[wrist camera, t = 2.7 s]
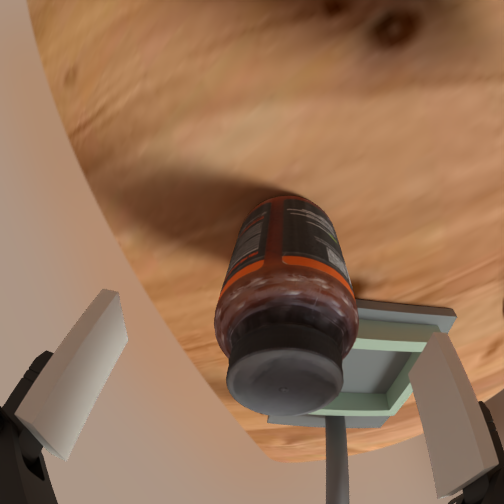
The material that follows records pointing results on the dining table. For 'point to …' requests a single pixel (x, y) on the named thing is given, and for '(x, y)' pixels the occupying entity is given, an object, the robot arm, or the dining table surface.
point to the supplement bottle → (286, 310)
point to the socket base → (372, 379)
